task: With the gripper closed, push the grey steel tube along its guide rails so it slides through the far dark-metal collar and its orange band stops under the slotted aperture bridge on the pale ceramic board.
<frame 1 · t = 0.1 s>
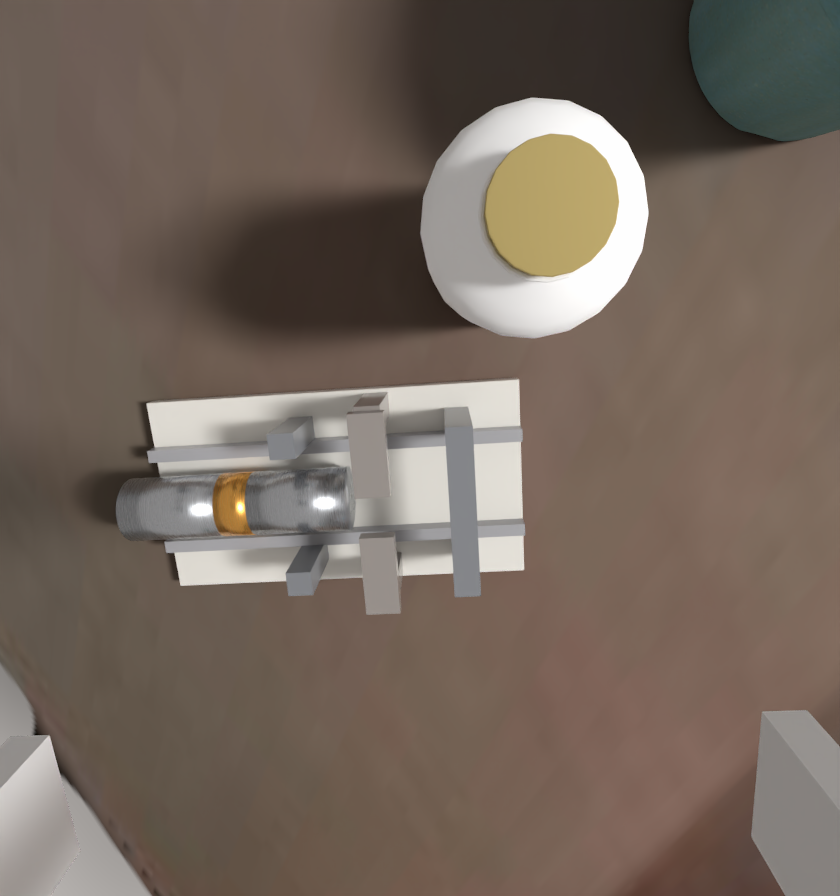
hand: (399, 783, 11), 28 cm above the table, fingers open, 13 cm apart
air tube: (251, 493, 38), point 1 cm above the table, touching collar board
collar board: (342, 484, 39), on the table
potion bottle: (496, 256, 35), on the table
flower pot: (798, 23, 31), on the table
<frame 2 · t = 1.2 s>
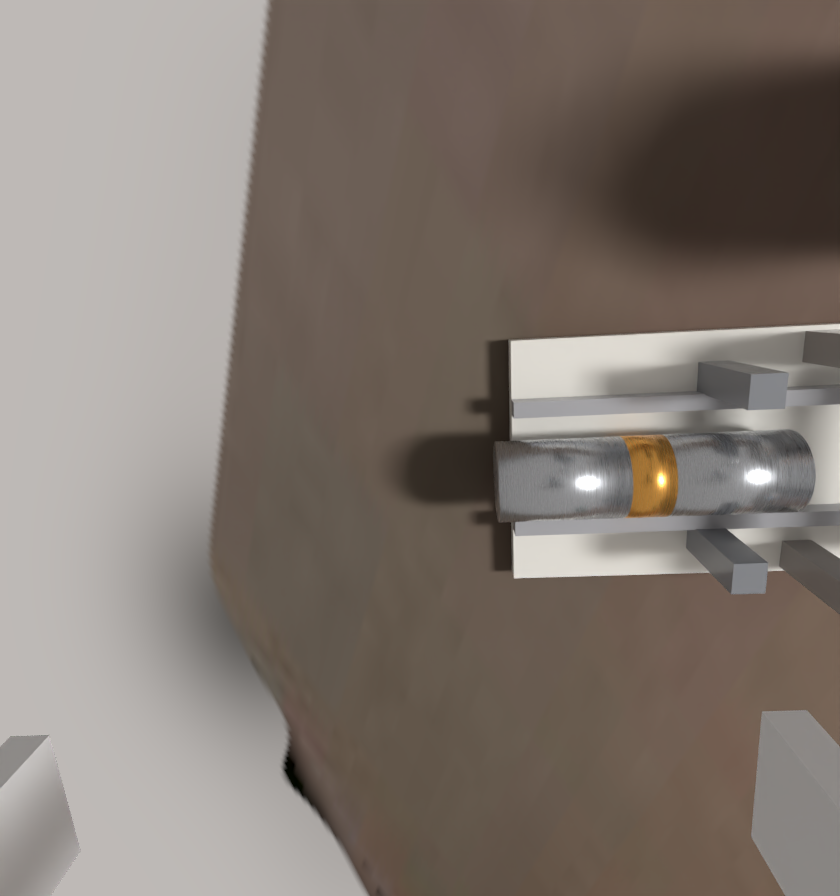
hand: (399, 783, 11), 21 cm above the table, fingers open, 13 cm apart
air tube: (628, 461, 30), point 1 cm above the table, tilted 5°, touching collar board
collar board: (736, 451, 30), on the table
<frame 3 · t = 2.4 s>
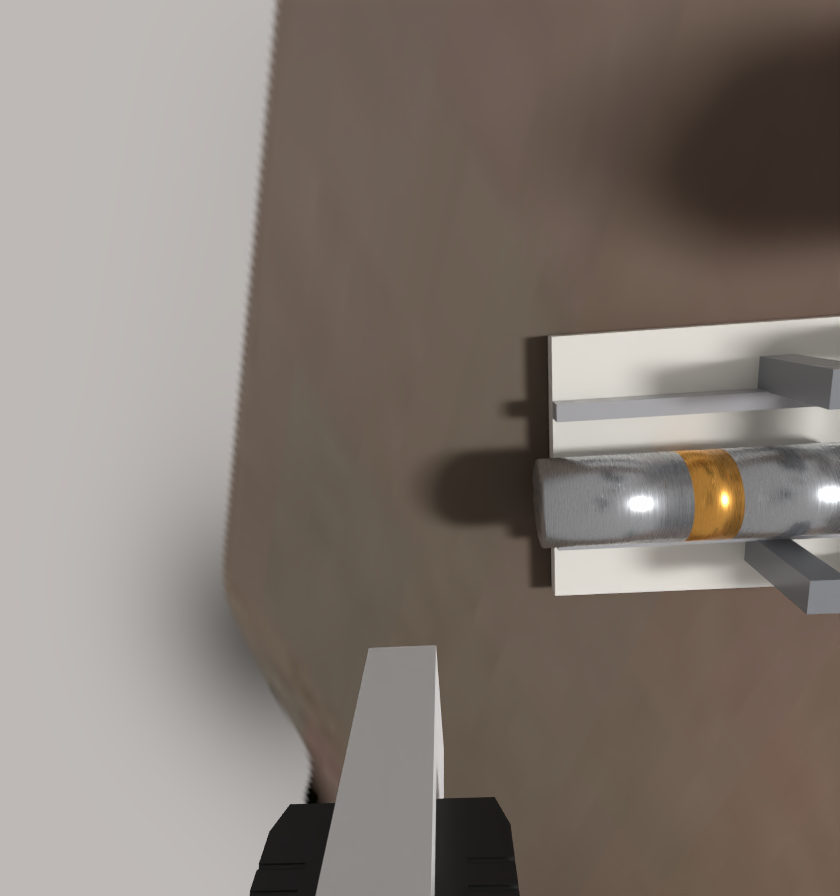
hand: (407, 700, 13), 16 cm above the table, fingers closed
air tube: (682, 467, 27), point 1 cm above the table, tilted 20°, touching collar board
collar board: (799, 453, 28), on the table
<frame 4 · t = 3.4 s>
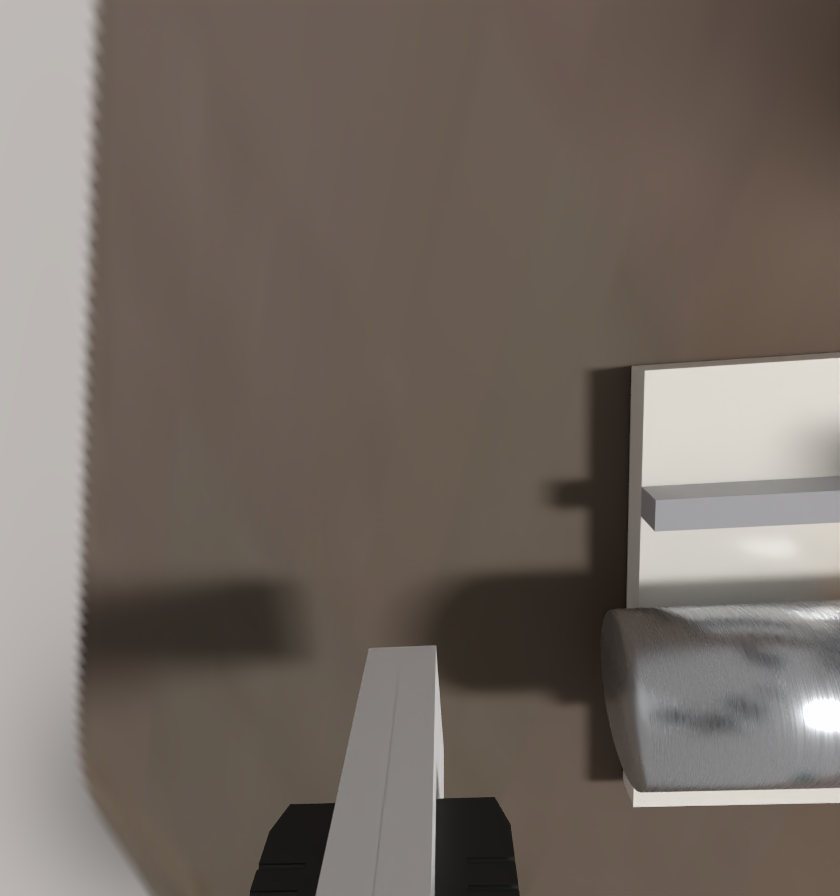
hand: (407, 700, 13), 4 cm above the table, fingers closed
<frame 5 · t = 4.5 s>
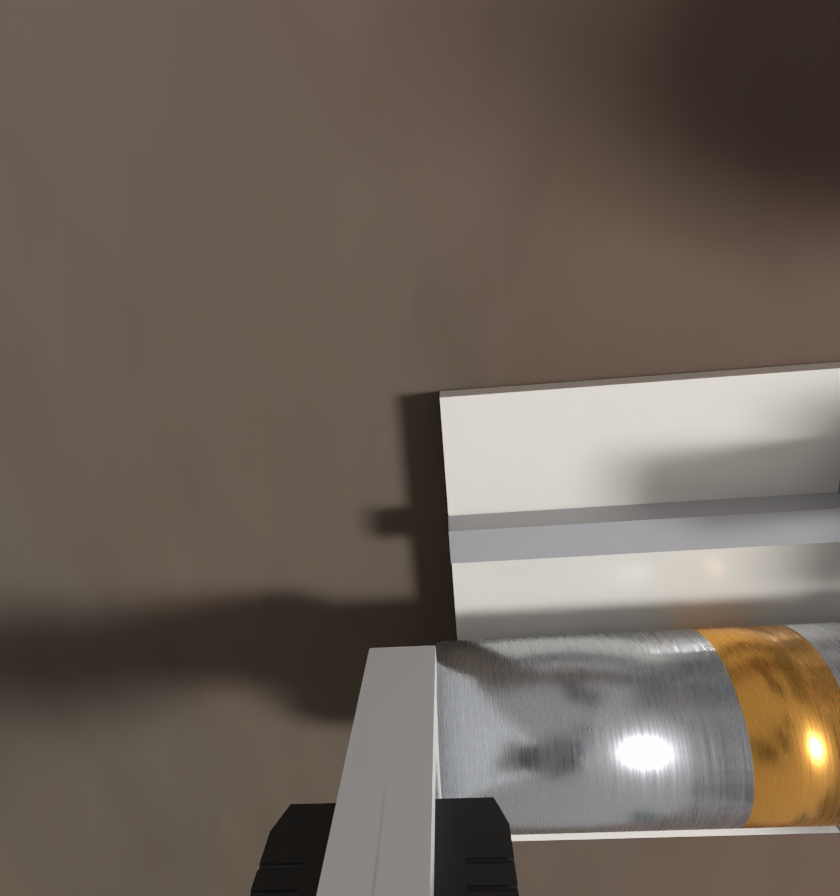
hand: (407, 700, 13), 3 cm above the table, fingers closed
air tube: (718, 637, 14), point 1 cm above the table, tilted 29°, touching gripper
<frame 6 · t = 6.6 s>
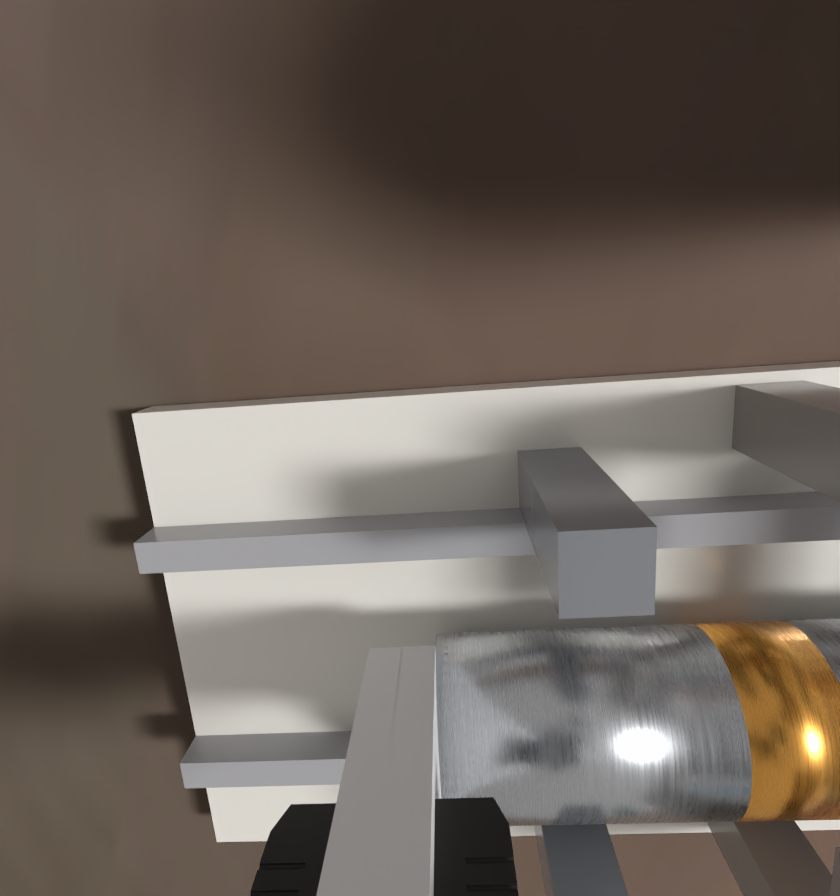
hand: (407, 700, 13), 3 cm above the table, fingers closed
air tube: (716, 633, 14), point 1 cm above the table, tilted 28°, touching collar board, gripper
collar board: (619, 611, 16), on the table
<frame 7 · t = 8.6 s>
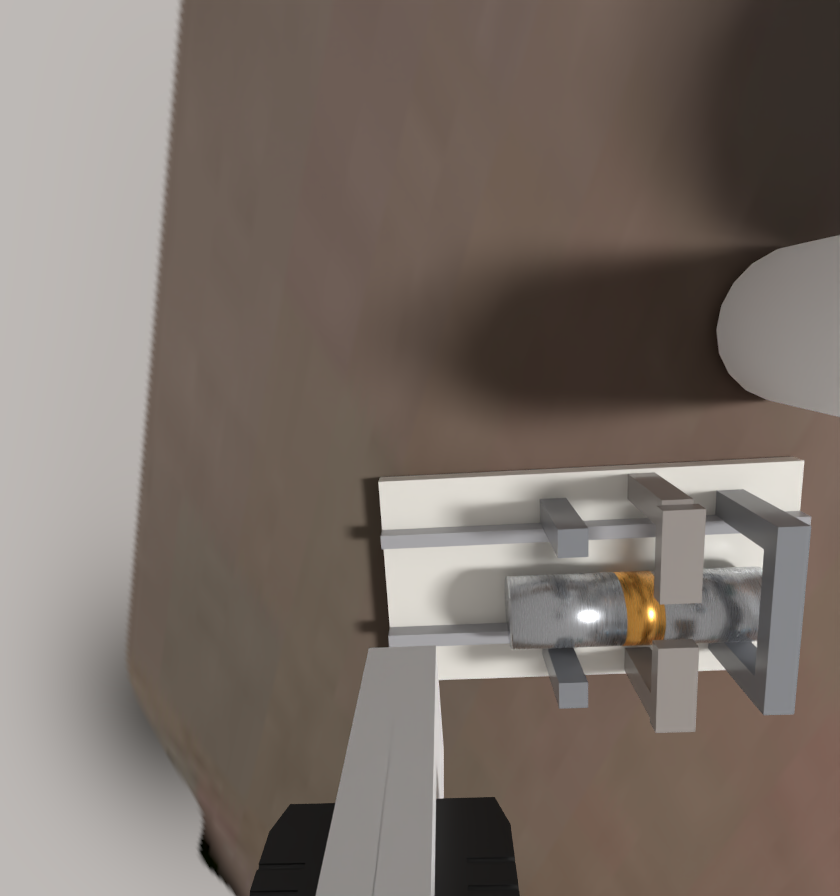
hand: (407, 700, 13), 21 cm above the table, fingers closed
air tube: (624, 577, 33), point 1 cm above the table, tilted 29°, touching collar board
collar board: (583, 570, 35), on the table
potion bottle: (783, 325, 31), on the table
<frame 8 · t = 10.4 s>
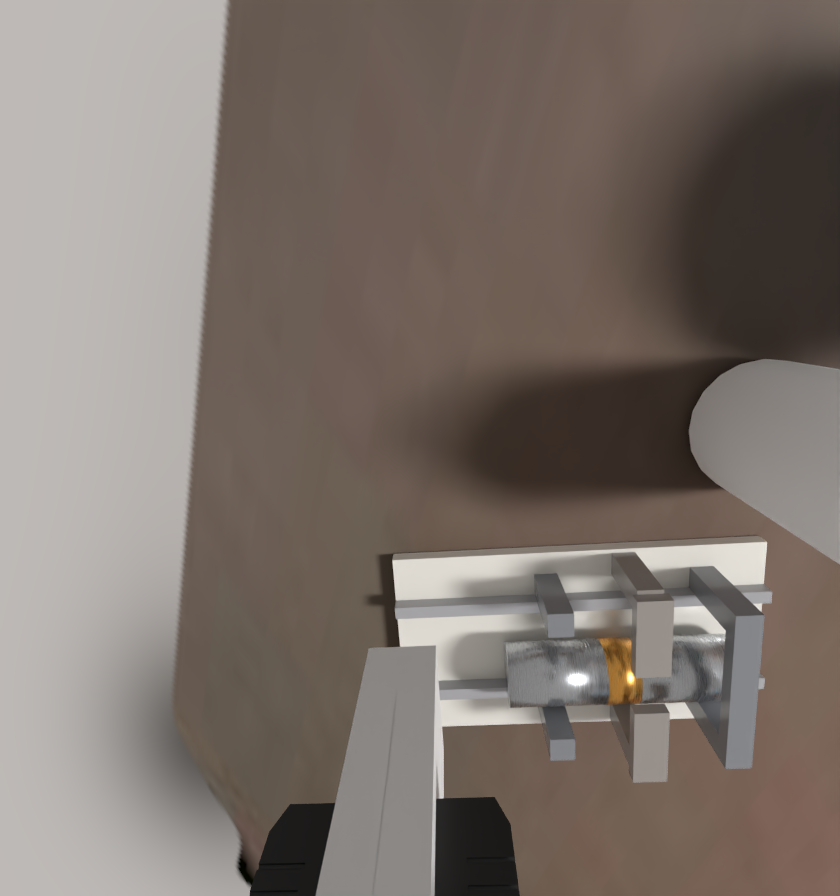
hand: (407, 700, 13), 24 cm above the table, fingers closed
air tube: (608, 641, 38), point 1 cm above the table, tilted 29°, touching collar board
collar board: (573, 631, 39), on the table
potion bottle: (749, 423, 36), on the table
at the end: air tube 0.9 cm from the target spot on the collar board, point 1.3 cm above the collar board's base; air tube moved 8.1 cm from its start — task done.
